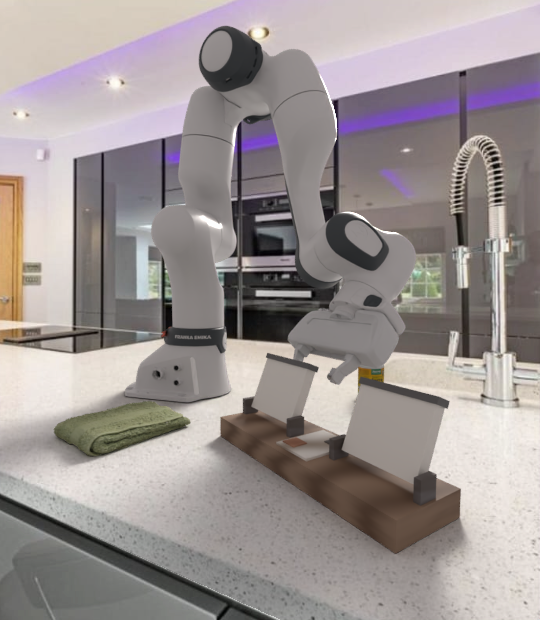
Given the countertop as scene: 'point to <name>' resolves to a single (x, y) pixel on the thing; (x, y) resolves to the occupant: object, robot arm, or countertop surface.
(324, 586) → the countertop surface
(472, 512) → the countertop surface
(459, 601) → the countertop surface
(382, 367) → the supplement bottle
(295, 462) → the switch base
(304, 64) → the robot arm
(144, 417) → the washcloth
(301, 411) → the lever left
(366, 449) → the grey flat panel
